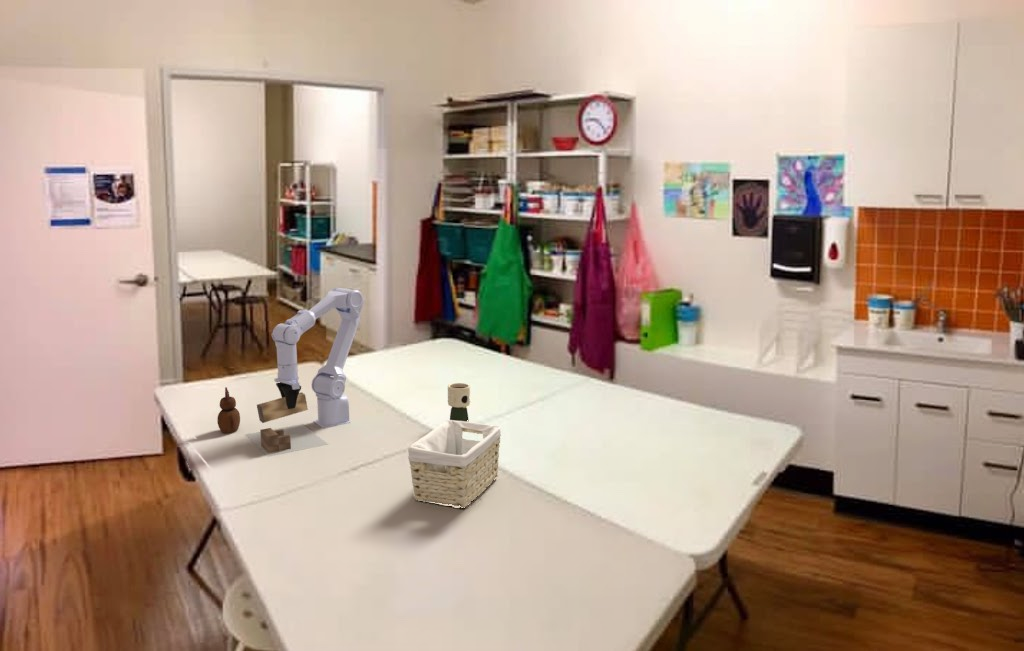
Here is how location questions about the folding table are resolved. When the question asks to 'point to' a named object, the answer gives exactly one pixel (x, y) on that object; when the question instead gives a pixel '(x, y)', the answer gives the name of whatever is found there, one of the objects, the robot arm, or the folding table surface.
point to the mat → (292, 439)
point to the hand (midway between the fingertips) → (289, 406)
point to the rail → (280, 408)
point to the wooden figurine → (228, 414)
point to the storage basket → (454, 463)
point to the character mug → (459, 401)
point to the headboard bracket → (274, 440)
